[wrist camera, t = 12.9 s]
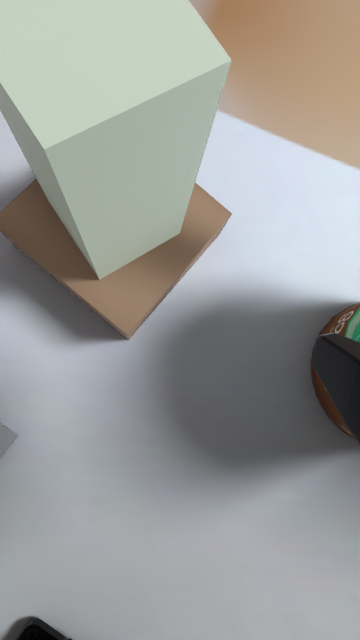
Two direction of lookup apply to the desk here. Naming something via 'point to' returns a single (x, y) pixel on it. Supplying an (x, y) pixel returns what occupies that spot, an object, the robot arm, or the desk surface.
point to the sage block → (111, 114)
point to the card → (5, 439)
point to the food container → (351, 324)
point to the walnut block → (128, 281)
